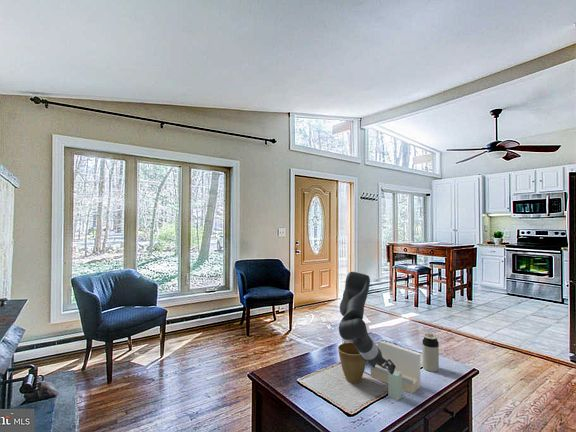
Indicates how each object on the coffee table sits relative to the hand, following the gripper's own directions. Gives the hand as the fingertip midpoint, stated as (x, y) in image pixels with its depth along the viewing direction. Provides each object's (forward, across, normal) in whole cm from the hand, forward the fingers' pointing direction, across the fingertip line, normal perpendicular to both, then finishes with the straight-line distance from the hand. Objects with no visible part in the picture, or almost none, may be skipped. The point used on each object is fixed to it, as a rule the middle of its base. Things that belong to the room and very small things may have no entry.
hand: (383, 368), depth 136 cm
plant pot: (+19, +22, +5) cm, 30 cm away
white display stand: (+28, +7, -5) cm, 29 cm away
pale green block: (+20, 0, +4) cm, 20 cm away
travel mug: (+46, -1, -23) cm, 51 cm away
